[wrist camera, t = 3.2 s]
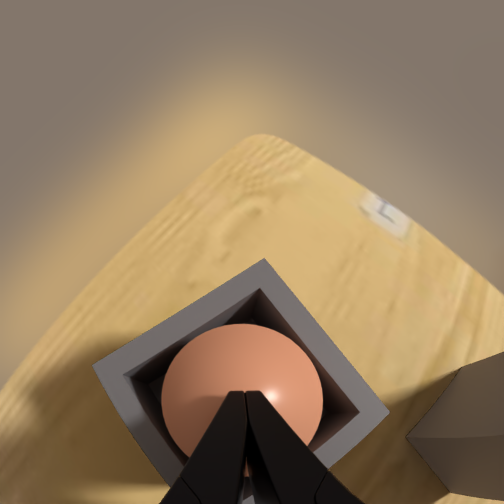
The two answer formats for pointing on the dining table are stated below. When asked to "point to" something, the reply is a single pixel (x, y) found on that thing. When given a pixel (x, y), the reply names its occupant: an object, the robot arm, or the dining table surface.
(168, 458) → the grey square housing
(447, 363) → the dining table surface
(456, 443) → the grey square socket
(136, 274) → the dining table surface
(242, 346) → the terracotta button
